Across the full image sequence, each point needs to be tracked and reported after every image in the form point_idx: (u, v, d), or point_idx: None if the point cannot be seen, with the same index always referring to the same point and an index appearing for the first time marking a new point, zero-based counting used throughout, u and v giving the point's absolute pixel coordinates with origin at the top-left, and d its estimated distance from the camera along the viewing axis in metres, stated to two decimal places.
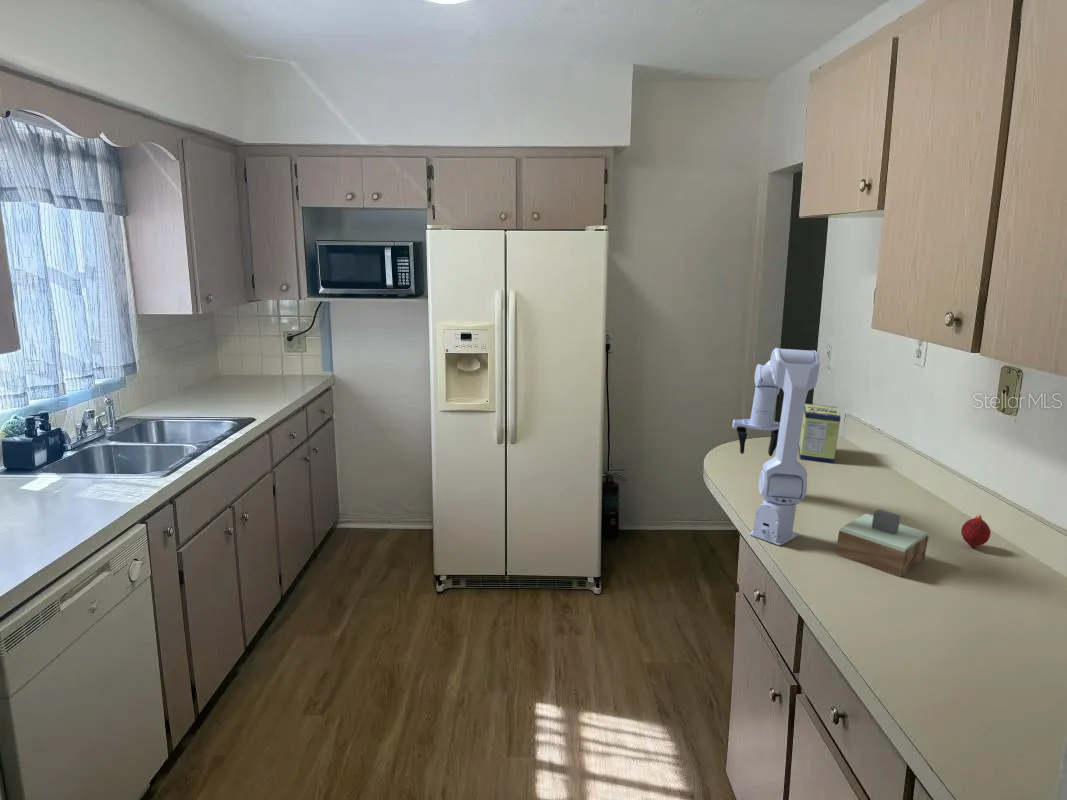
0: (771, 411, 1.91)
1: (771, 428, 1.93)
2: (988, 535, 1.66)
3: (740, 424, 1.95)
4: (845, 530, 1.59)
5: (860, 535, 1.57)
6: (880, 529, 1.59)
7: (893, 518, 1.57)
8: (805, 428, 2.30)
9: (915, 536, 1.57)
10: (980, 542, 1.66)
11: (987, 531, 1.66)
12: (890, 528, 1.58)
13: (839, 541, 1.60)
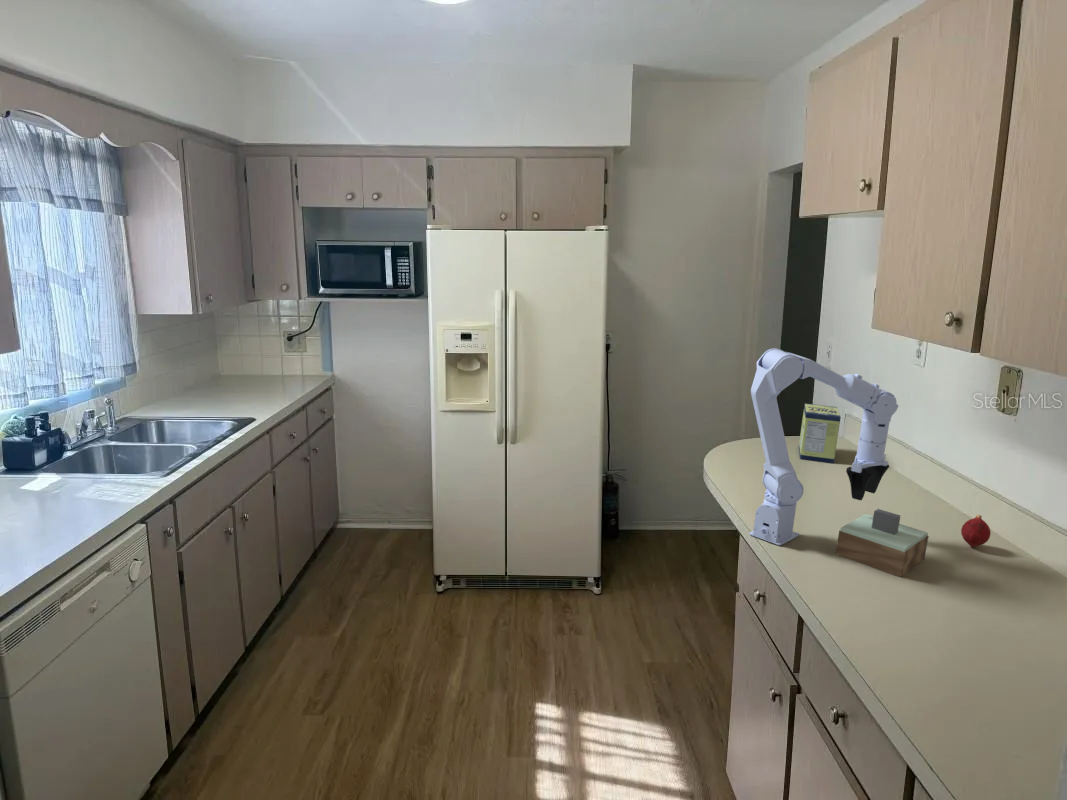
0: (859, 438, 1.67)
1: None
2: (988, 535, 1.66)
3: None
4: (845, 530, 1.59)
5: (860, 535, 1.57)
6: (880, 529, 1.59)
7: (893, 518, 1.57)
8: (805, 428, 2.30)
9: (915, 536, 1.57)
10: (980, 542, 1.66)
11: (987, 531, 1.66)
12: (890, 528, 1.58)
13: (839, 541, 1.60)
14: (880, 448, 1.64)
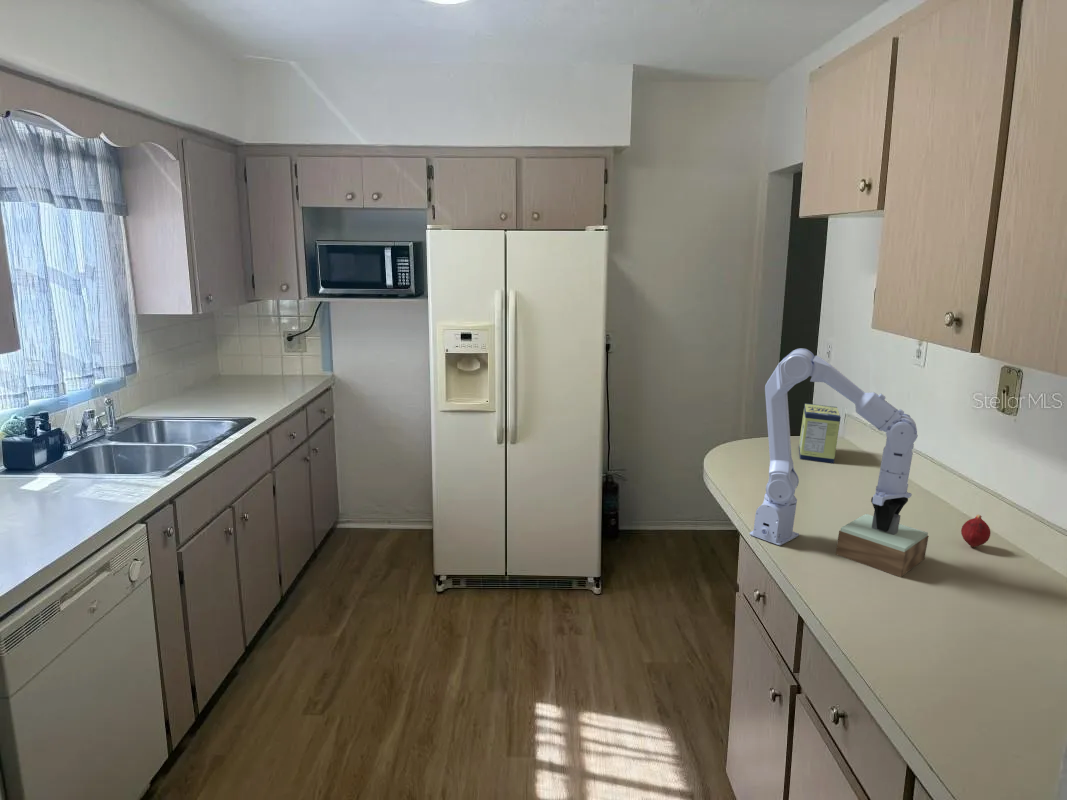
0: (881, 468, 1.57)
1: None
2: (988, 535, 1.66)
3: None
4: (845, 530, 1.59)
5: (860, 535, 1.57)
6: None
7: (893, 518, 1.57)
8: (805, 428, 2.30)
9: (915, 536, 1.57)
10: (980, 542, 1.66)
11: (987, 531, 1.66)
12: (890, 528, 1.58)
13: (839, 541, 1.60)
14: (903, 479, 1.54)
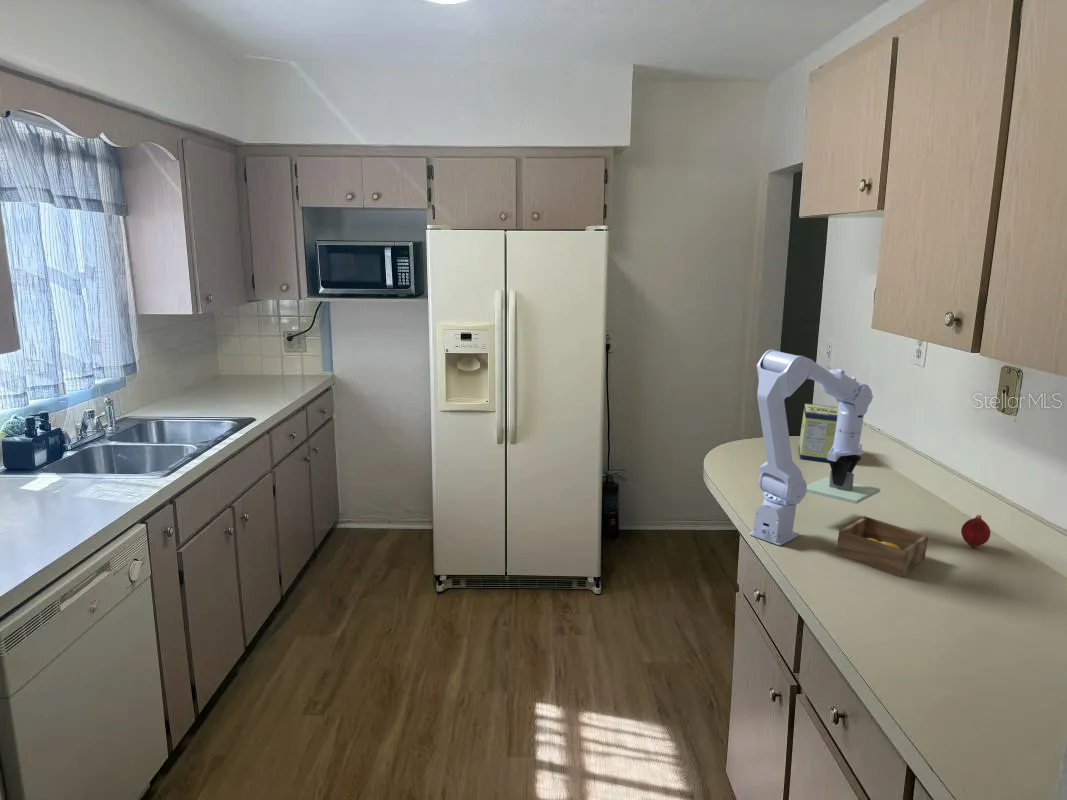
0: (836, 429, 1.74)
1: (831, 448, 1.75)
2: (988, 535, 1.66)
3: None
4: None
5: (817, 492, 1.74)
6: (837, 487, 1.77)
7: (847, 476, 1.74)
8: (805, 428, 2.30)
9: (867, 492, 1.74)
10: (980, 542, 1.66)
11: (987, 531, 1.66)
12: (845, 485, 1.75)
13: (839, 541, 1.60)
14: (855, 438, 1.72)
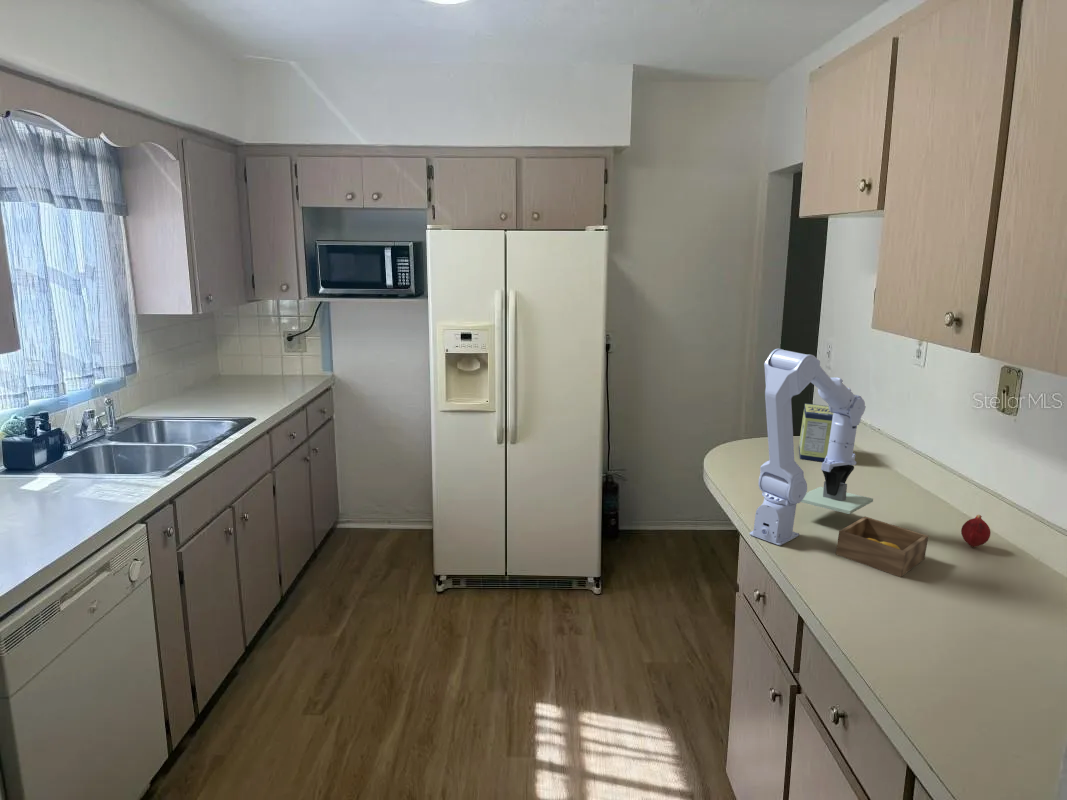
0: (829, 439, 1.77)
1: (825, 458, 1.78)
2: (988, 535, 1.66)
3: None
4: None
5: (811, 503, 1.77)
6: (830, 497, 1.79)
7: (840, 486, 1.77)
8: (805, 428, 2.30)
9: (860, 502, 1.77)
10: (980, 542, 1.66)
11: (987, 531, 1.66)
12: (838, 495, 1.78)
13: (839, 541, 1.60)
14: (848, 448, 1.74)
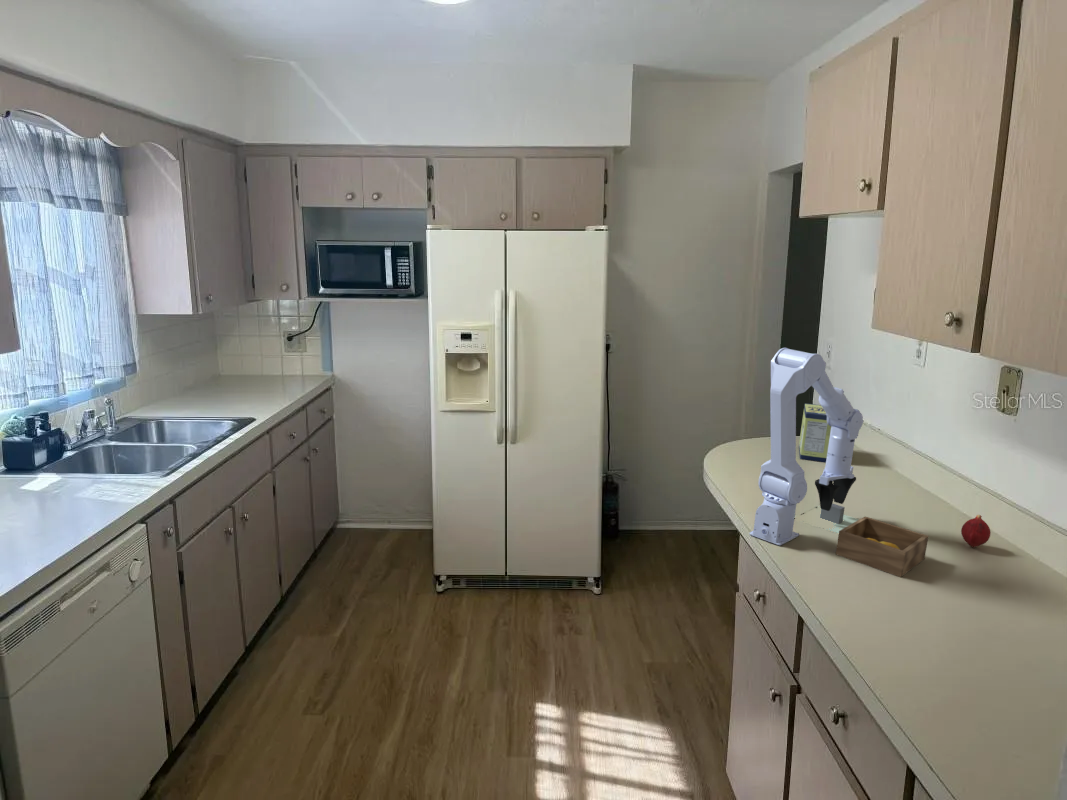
0: (827, 452, 1.78)
1: (823, 471, 1.78)
2: (988, 535, 1.66)
3: None
4: None
5: None
6: (827, 519, 1.81)
7: (838, 509, 1.78)
8: (805, 428, 2.30)
9: None
10: (980, 542, 1.66)
11: (987, 531, 1.66)
12: (835, 518, 1.79)
13: (839, 541, 1.60)
14: (846, 461, 1.75)
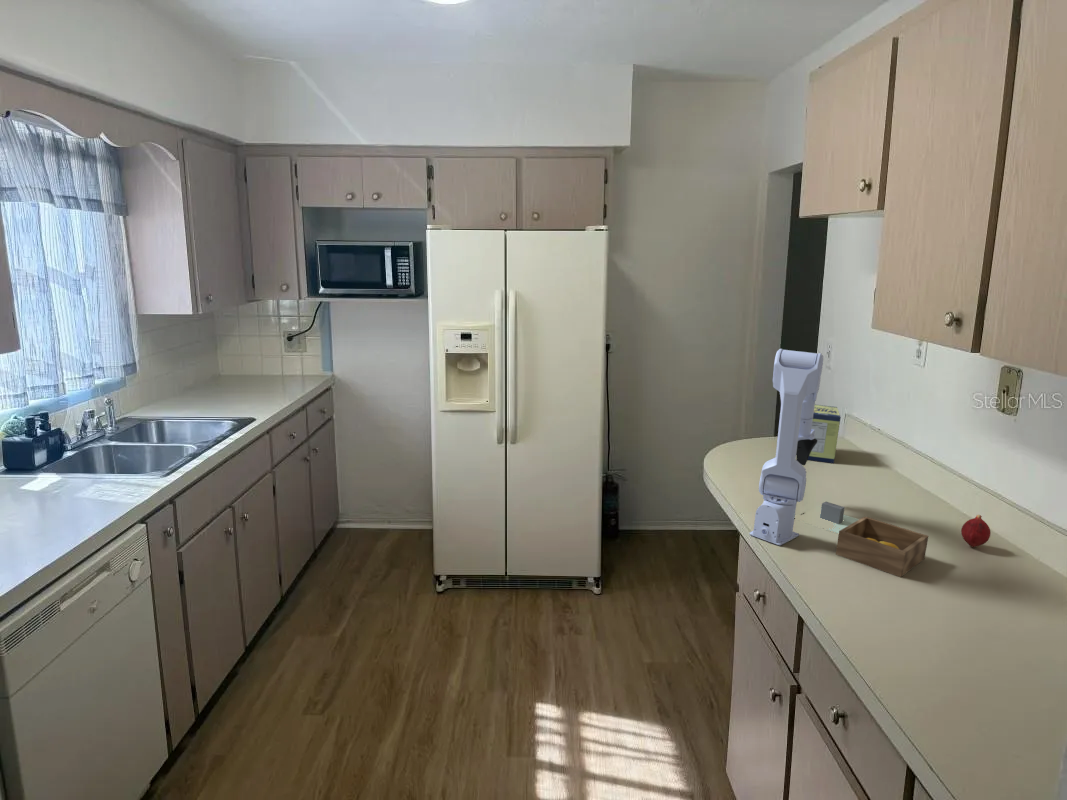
0: None
1: None
2: (988, 535, 1.66)
3: None
4: None
5: None
6: (827, 519, 1.81)
7: (838, 509, 1.78)
8: None
9: None
10: (980, 542, 1.66)
11: (987, 531, 1.66)
12: (835, 518, 1.79)
13: (839, 541, 1.60)
14: (807, 423, 1.83)
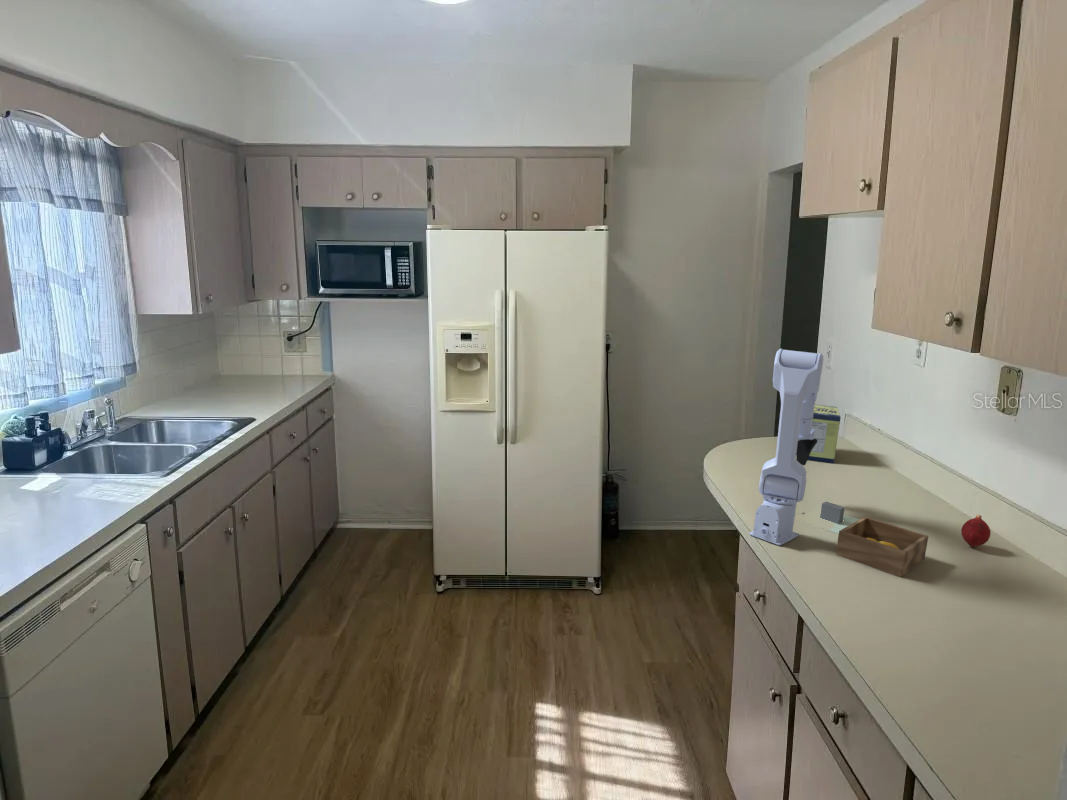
0: None
1: None
2: (988, 535, 1.66)
3: None
4: None
5: None
6: (827, 519, 1.81)
7: (838, 509, 1.78)
8: None
9: None
10: (980, 542, 1.66)
11: (987, 531, 1.66)
12: (835, 518, 1.79)
13: (839, 541, 1.60)
14: (807, 423, 1.83)
